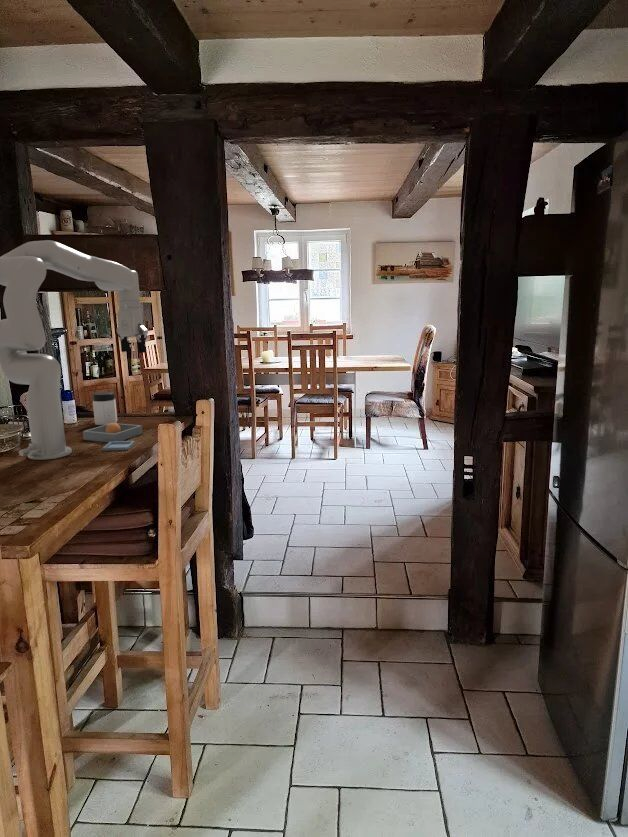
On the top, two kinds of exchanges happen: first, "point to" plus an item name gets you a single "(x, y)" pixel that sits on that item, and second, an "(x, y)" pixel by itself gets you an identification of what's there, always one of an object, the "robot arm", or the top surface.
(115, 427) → the ball
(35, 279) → the robot arm
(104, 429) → the grey square tray
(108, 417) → the jar
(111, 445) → the coaster
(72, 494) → the top surface
